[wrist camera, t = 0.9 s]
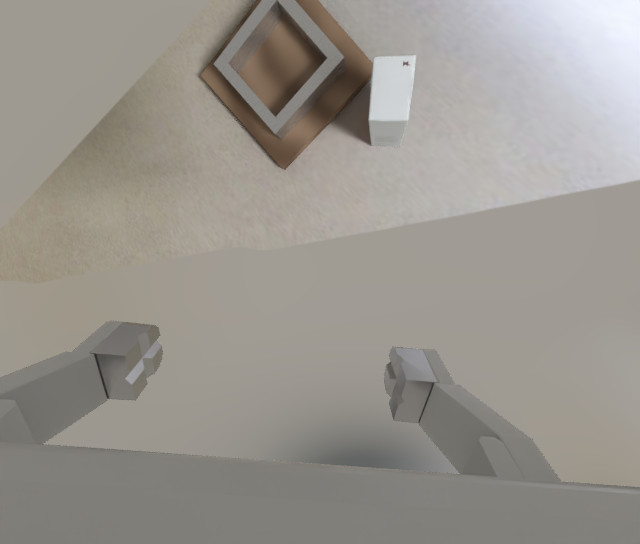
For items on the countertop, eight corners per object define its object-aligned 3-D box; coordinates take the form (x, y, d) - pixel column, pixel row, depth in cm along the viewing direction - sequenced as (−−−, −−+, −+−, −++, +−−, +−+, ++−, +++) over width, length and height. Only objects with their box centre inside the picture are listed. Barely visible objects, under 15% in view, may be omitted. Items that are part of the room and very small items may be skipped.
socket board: (288, -28, 39) (277, -59, 34) (376, 73, 39) (376, 55, 35) (206, 80, 44) (187, 65, 39) (284, 169, 44) (274, 164, 39)
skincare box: (374, 101, 40) (373, 53, 28) (405, 101, 39) (418, 52, 27) (369, 147, 41) (367, 120, 29) (400, 148, 40) (410, 120, 29)
